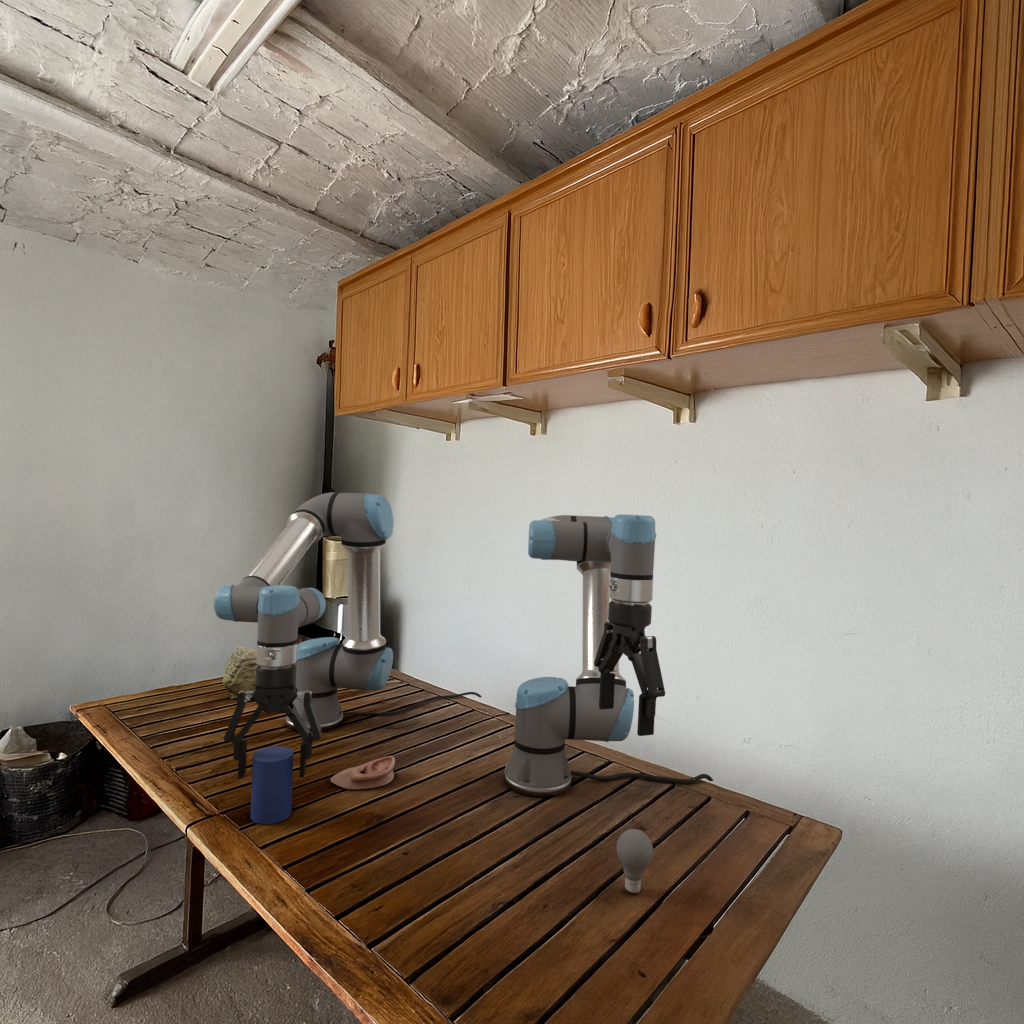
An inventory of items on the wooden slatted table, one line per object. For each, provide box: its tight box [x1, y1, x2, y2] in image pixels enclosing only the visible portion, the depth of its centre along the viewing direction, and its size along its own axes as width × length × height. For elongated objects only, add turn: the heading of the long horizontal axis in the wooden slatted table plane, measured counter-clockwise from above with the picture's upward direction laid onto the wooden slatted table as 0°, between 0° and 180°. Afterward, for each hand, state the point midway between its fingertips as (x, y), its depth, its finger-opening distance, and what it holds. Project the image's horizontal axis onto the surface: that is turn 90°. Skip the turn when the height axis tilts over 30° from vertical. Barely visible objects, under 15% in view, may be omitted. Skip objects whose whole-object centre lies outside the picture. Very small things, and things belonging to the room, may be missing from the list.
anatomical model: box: [330, 755, 396, 790], centre depth 143 cm, size 13×4×12 cm
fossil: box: [222, 646, 259, 699], centre depth 198 cm, size 9×18×15 cm, turn 132°
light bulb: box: [615, 828, 654, 894], centre depth 106 cm, size 6×6×10 cm
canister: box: [250, 745, 295, 825], centre depth 125 cm, size 8×8×12 cm
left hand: (272, 775), depth 125 cm, fingers open, 11 cm apart
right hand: (624, 721), depth 112 cm, fingers open, 13 cm apart
